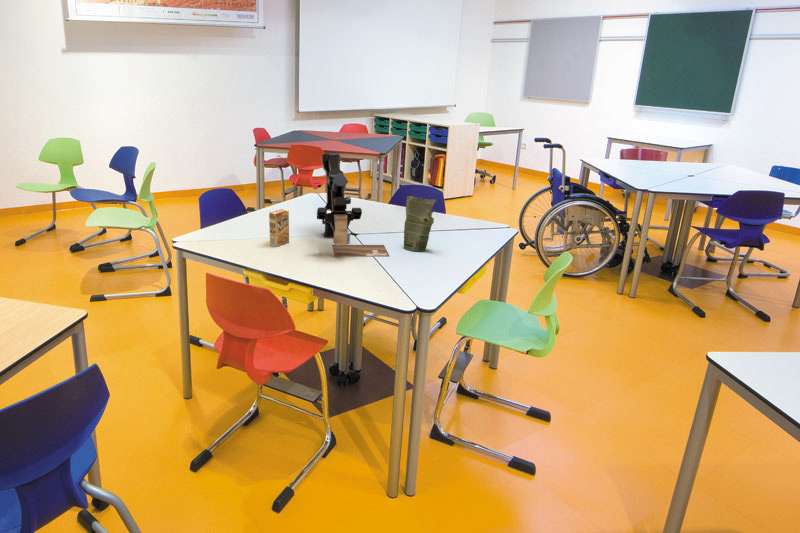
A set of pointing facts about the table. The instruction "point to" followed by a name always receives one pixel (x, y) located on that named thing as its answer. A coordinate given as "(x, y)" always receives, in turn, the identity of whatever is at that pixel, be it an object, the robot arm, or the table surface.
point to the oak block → (340, 230)
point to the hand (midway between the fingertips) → (340, 230)
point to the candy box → (279, 227)
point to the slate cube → (348, 237)
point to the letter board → (360, 251)
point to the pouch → (418, 223)
